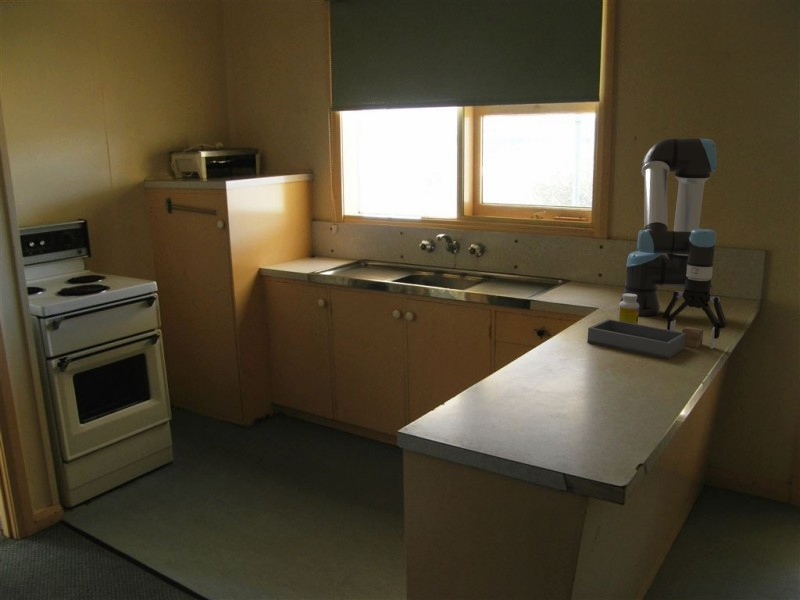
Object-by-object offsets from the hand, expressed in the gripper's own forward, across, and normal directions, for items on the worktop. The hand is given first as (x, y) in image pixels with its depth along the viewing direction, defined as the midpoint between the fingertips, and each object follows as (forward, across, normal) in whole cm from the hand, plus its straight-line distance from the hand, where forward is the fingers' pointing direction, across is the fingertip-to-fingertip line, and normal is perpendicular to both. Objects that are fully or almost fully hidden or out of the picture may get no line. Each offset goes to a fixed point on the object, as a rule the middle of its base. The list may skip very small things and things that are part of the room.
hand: (691, 343), depth 226 cm
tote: (0, -13, -13) cm, 19 cm away
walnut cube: (0, 0, 0) cm, 0 cm away
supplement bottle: (0, -22, +1) cm, 22 cm away
